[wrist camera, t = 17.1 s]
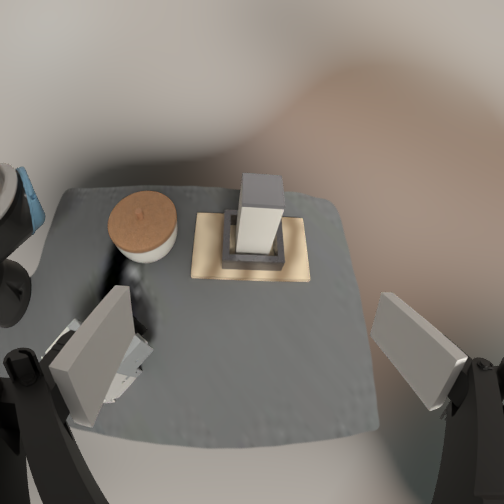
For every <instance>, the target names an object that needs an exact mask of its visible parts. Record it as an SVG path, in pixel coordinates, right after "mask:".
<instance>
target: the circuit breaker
mask: <svg viewBox="0 0 504 504" xmlns="http://www.w3.org/2000/svg"><path fill="white" fill-rule="evenodd" d="M133 322H134V329H135V335H134V337H133V339H132V341H131V343H130V345H129V347H128V349H127V351H126V353H125V356H124V358H123V360H122V362H121V364H120V366H119V368H118V370H117V372H116V375H115V377H114V379H113V381H112V383H111V386H110V388H109V390H108V392H107V395H106V397H105V399H104V401H103V402H104V403H111V402H113V403H114V402H115V400H114V399H115V398H119V397H120V396H121V395H122V394H123V392H124V391H125V390H126V389H127V388H128V387H129V386H130V385H131V384H132V382H133V381H134V380H135V379H136V378H137V377H138V376H139V375H140V374H141V372H142V370H141V369H140V368H139V366H140V365H141V364H142V362H143V361H144V360H145V359H146V358H147V357H148V356H149V355H150V354H151V352H152V351H153V350H154V349H153V348H152V347H151V346H149V345H148V342H147V341H146V340H145V339H144V338H143V336H142V335H143V334H144V333H145V332H146V331H147V329H146V328H145V327H144V326H143V325H142V324H141V323H140V322H139V321H138V320H136V318H135V317H134V316H133ZM81 325H82V322H80V321H79V320H77V319H76V318H74V320H73V321H72V322H71V323H70V324H69V325H68V326H67V327H66V329H65V330H64V331H63V332H62V333H61V334H60V335H59V337H58V338H57V339H56V340H55V341H54V342H53V344H52V345H51V346H50V347H49V348H48V350H47V351H46V352H45V353H46V354H47V352H48V351H49V350H51V348H52V346H53V345H54V344H56V342H57V340H58V339H59V338H60V337H61V336H62V335H63V334H65V333H66V332H68V331H70V330H74V331H77V329H78V328H79V327H80V326H81ZM41 358H42V359H43V356H42V357H41Z"/></svg>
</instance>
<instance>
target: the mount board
mask: <svg viewBox="0 0 504 504" xmlns="http://www.w3.org/2000/svg"><path fill="white" fill-rule="evenodd" d="M281 219H282V230H283V242H284V254H285V264H284V266H283V268H282V270H281V271H263V270H236V269H222V253H223V232H224V214H220V213H197V221H196V229H195V238H194V248H193V258H192V268H191V278H200V279H223V280H251V281H289V282H309V280H310V272H309V263H308V255H307V247H306V239H305V232H304V224H303V218H290V217H281ZM235 242H236V225H230V252H229V254H235ZM268 256H274V249H273V244H272V247H271V250H270V252H269V255H268Z"/></svg>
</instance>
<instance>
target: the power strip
mask: <svg viewBox="0 0 504 504" xmlns="http://www.w3.org/2000/svg"><path fill="white" fill-rule="evenodd" d="M284 208H285V199H284V190H283V182H282V176H278V175H267V174H254V173H243V174H242V182H241V190H240V198H239V207H238V215H237V224H236V242H235V254H237V255H261V256H268V255H269V252H270V250H271V247H272V244H273V241H274V238H275V235H276V232H277V229H278V226H279V223H280V220H281V217H282V214H283V211H284Z"/></svg>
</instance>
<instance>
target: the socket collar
mask: <svg viewBox="0 0 504 504" xmlns="http://www.w3.org/2000/svg"><path fill="white" fill-rule="evenodd" d="M237 215H238V210H231V209H225V212H224V232H223V253H222V269H236V270H263V271H281V270H282V268H283V266H284V264H285V254H284V242H283V230H282V219H281V220H280V223H279V226H278V229H277V232H276V235H275V238H274V241H273V249H274V256H261V255H237V254H229V252H230V225H236V224H237Z"/></svg>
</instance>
